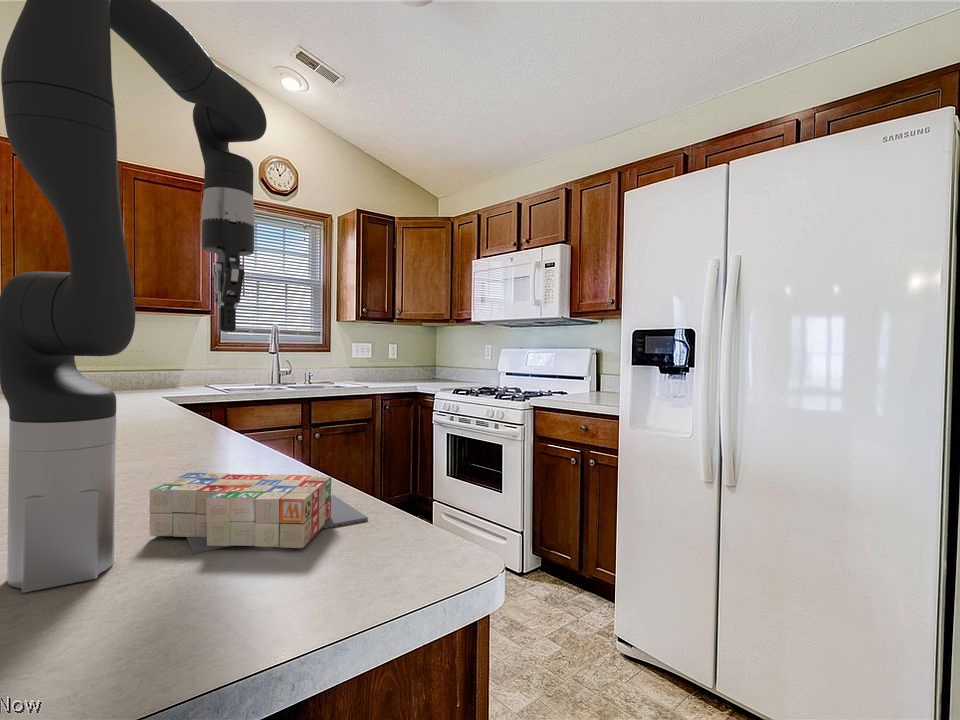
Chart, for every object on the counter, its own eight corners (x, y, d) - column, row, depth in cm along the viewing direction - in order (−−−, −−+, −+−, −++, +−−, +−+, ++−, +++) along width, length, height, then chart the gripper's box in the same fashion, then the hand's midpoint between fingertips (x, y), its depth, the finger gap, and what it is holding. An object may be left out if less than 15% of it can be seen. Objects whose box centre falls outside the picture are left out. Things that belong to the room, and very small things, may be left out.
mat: (367, 520, 77) (367, 517, 77) (193, 553, 63) (193, 549, 63) (333, 497, 88) (333, 495, 88) (179, 521, 74) (179, 518, 74)
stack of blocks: (188, 513, 76) (132, 544, 64) (188, 471, 76) (132, 495, 64) (332, 517, 76) (303, 549, 64) (332, 475, 76) (304, 499, 64)
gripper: (196, 226, 85) (195, 331, 85) (208, 209, 74) (206, 329, 74) (245, 233, 89) (244, 332, 90) (263, 218, 78) (261, 331, 79)
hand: (227, 331), depth 82 cm, fingers closed
